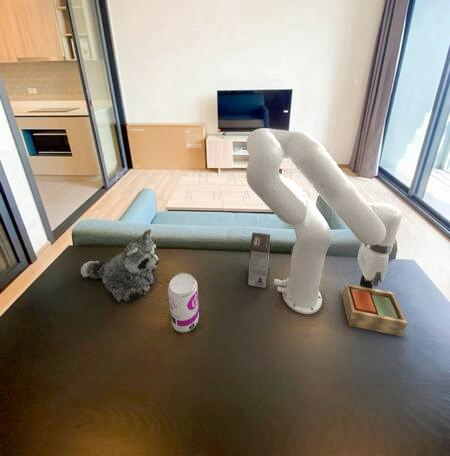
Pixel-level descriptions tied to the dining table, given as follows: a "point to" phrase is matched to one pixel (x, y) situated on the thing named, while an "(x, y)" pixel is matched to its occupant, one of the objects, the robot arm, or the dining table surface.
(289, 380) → the dining table surface
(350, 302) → the snack tray
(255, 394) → the dining table surface
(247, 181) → the robot arm
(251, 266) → the coffee box
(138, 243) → the raccoon plush
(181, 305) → the supplement can
